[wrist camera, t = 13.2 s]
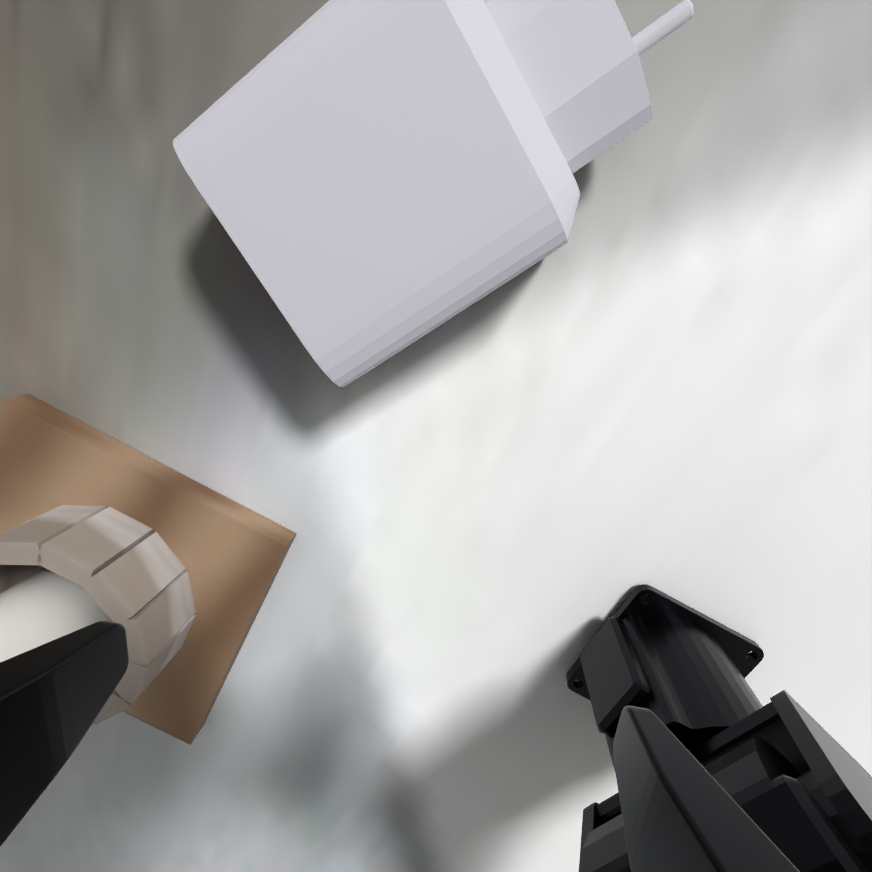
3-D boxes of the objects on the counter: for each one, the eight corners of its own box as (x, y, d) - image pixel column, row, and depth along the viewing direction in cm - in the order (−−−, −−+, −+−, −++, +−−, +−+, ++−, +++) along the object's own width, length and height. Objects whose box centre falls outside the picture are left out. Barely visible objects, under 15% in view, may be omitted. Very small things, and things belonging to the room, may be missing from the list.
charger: (708, 152, 17) (367, 372, 20) (585, -118, 15) (237, 172, 19) (789, 98, 12) (333, 393, 16) (627, -295, 11) (157, 132, 14)
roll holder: (296, 533, 23) (249, 592, 18) (203, 725, 27) (145, 811, 22) (28, 394, 22) (-90, 418, 18) (-26, 612, 26) (-131, 677, 22)
